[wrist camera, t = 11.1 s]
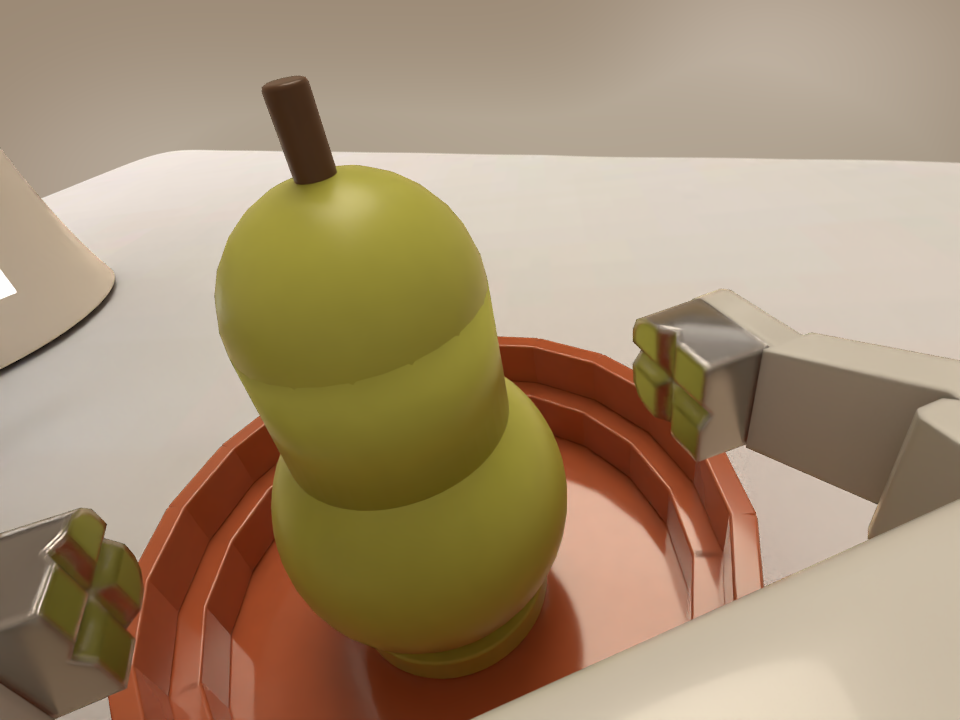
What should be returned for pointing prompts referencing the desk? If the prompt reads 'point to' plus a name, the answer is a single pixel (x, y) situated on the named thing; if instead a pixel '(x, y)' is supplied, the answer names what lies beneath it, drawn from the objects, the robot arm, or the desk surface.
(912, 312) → the desk surface
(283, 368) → the pear
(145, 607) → the dish
